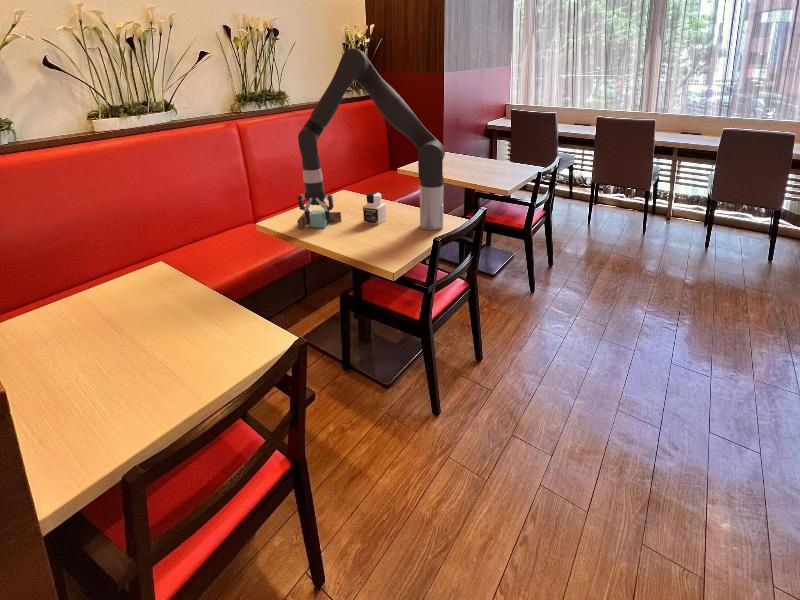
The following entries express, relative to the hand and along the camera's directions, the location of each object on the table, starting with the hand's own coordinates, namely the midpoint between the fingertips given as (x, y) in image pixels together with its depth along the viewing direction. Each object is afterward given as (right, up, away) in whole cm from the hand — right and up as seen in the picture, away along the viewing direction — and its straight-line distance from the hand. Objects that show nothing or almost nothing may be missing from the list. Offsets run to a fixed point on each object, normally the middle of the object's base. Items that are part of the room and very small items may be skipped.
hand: (317, 219), depth 200 cm
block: (0, -2, +1) cm, 3 cm away
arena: (+1, -2, +2) cm, 3 cm away
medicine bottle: (+24, 0, +4) cm, 24 cm away
